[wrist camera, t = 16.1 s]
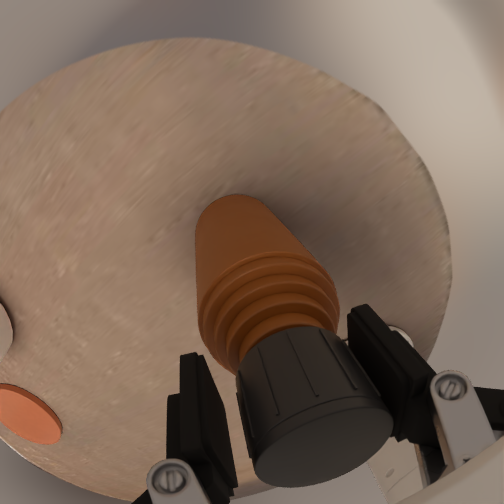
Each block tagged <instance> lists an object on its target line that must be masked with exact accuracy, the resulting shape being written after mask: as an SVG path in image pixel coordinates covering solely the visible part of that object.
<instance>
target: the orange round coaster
mask: <svg viewBox="0 0 504 504" xmlns="http://www.w3.org/2000/svg"><path fill="white" fill-rule="evenodd" d="M0 421H1V422H2V423H3V424H4V425H5V426H6V427H7V428H9V429H10V430H11V431H13V432H14V433H16V434H17V435H19V436H21V437H22V438H25V439H27V440H29V441H32V442H35V443H38V444H46V445H49V444H54V443H56V442H58V441H59V440H60V437H61V434H62V426H61V423H60V420H59V419H58V417H57V416H56V414H55V413H54V412H53V411H52V410H51V409H50V408H49V407H48V406H47V405H46V404H45V403H44V402H42V401H41V400H40V399H38V398H37V397H36V396H34V395H32V394H31V393H29V392H27V391H25V390H23V389H21V388H19V387H16V386H13V385H9V384H0Z"/></svg>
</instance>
